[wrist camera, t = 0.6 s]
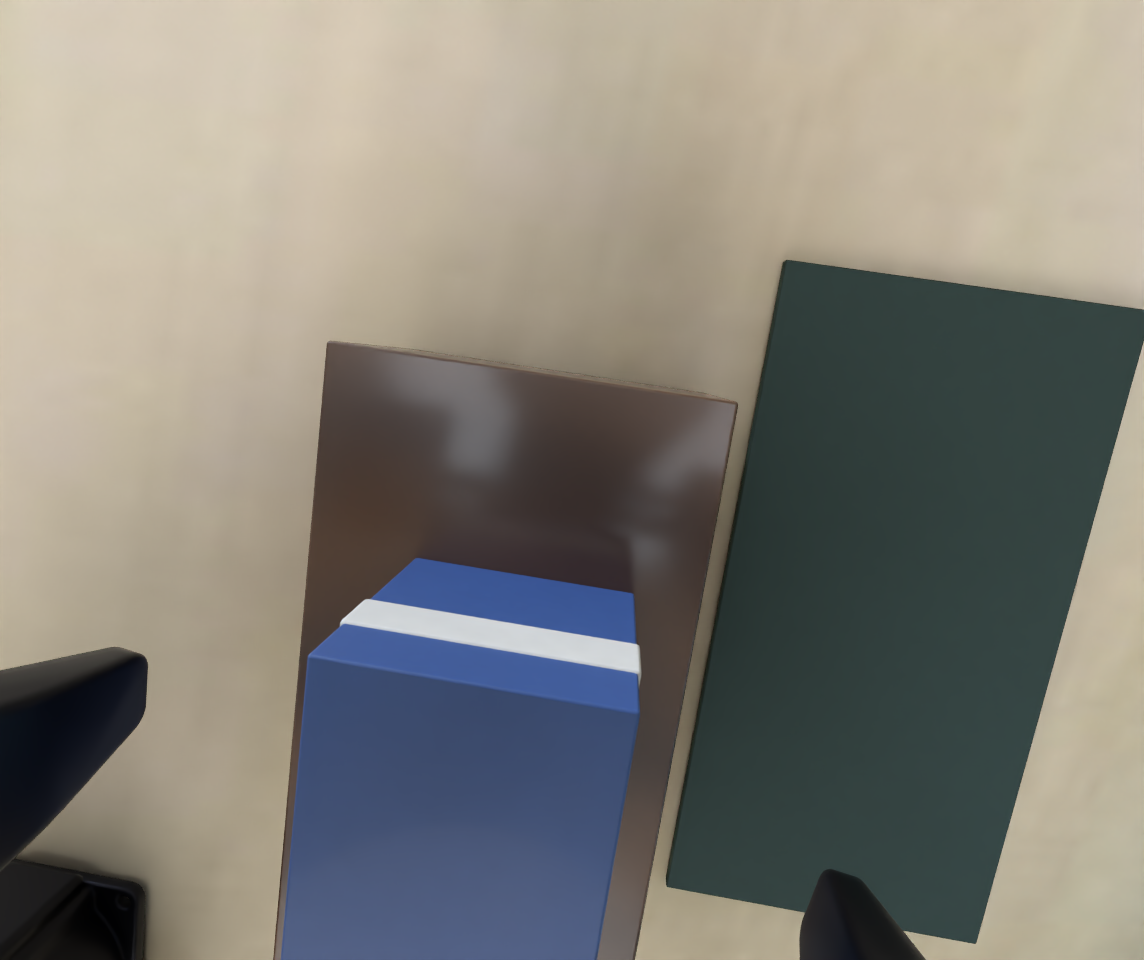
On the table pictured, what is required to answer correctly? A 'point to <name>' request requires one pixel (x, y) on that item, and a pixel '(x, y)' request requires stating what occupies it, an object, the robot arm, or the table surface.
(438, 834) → the box
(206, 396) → the table surface
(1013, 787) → the mat
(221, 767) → the table surface
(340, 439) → the shelf
